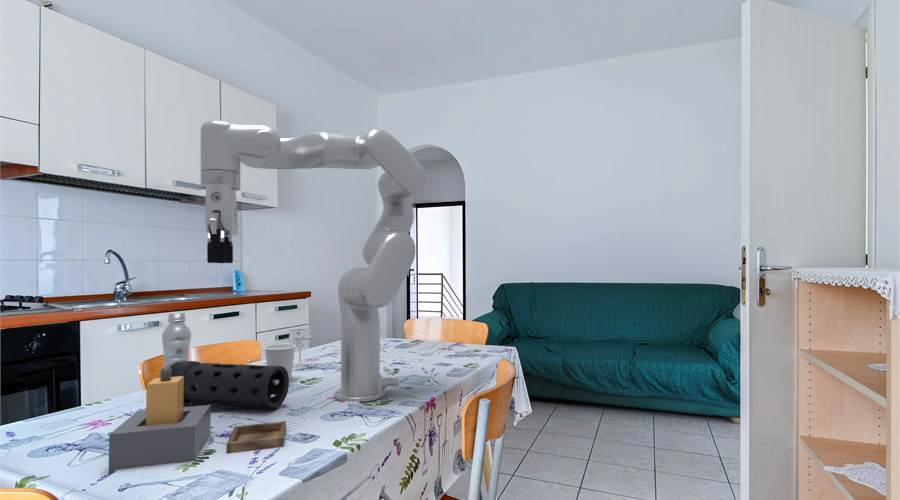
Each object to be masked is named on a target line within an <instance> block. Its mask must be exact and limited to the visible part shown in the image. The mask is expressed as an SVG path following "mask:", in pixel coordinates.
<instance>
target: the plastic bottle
mask: <svg viewBox="0 0 900 500" xmlns="http://www.w3.org/2000/svg"><path fill="white" fill-rule="evenodd" d="M167 318H168V320H167V322H168V325H167V326H166V327H165V329H164V330H163V332H162V334H161V341H162V348H163V366H162V368H165V367H166V366H168V365H169V364H172V363H176V362H179V361H189V354H190V352H189V351H190V347H191V339H192V333H191V330H190V328H189V326H188V325H187V324H186V323H185V322H186V320H187V319H186V314H185V313H171V314H168V317H167Z"/></svg>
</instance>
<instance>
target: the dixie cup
mask: <svg viewBox="0 0 900 500" xmlns="http://www.w3.org/2000/svg"><path fill="white" fill-rule="evenodd" d="M296 347H297V346H296V345H295V344H292V343H286V342H285V343H274V344H269V345H265V346H264V347H263V349H264V351H265V353H264V354H265V361H266V366H283V367H284V368H285V369H286V370H287V372H288V376H289V381H290V382H291V381H292V373H293V370H292V368H294V367H293V365H294V357H295V349H296ZM274 382H275V383H276V384H278V383H279V380H274Z"/></svg>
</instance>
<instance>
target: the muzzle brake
mask: <svg viewBox="0 0 900 500" xmlns="http://www.w3.org/2000/svg"><path fill="white" fill-rule="evenodd" d="M165 368H171V377H179V376H184V390H183V405H185V404H188V405H189V404H190V407H192V406H203V405H211V406H218V407H219V406H222V407H226V408H227V409H229V410H230V409H232V408H233V409H237V410H242V411H243V410H245V411H249V410H250V411H251V410H270V411H276V410H278V409H279V407H281V405H282V404H283V403H284V401H285V400H286V398H287V395H288V391H289V388H290V382H289V376H288V372H287V370H286V369H285V368H284V367H283V366H267V365H257V364H243V363H242V364H234V363H233V364H232V363H217V362H216V363H215V362H214V363H213V362H199V361H197V360H195V361H194V360H188V361H179V362H176V363H172V364H169V365H168V366H166V367H165ZM157 378H160V374H159V376H158V377H157ZM274 380H279V383H278V384H276V383H275V382H274ZM272 395H273V396H272Z"/></svg>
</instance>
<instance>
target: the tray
mask: <svg viewBox="0 0 900 500" xmlns="http://www.w3.org/2000/svg"><path fill="white" fill-rule="evenodd" d="M286 431H287V421H286V420H284V421H272V422H264V423H253V424H244V425H235V426H234V428H233V429H232V432H231V434H230V436H229V438H228V441H227V443H226V448H225V450H226V452H225V453H226V454H232V453H233V454H234V453H242V452H249V451H259V450H268V449H269V450H270V449H276V448H277V449H278V448H283V447H284V446H285V438H286Z"/></svg>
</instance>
